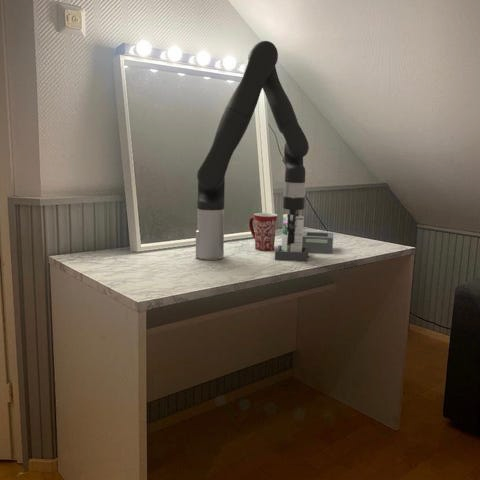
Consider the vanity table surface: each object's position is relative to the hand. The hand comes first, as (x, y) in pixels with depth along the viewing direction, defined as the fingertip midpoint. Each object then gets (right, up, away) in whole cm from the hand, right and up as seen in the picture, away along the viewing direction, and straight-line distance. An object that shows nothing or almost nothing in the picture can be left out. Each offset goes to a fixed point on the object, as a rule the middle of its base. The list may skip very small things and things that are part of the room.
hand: (292, 241), depth 175 cm
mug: (-10, -3, +16) cm, 19 cm away
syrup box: (0, -5, +1) cm, 5 cm away
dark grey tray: (0, -6, +1) cm, 6 cm away
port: (+11, -3, +15) cm, 19 cm away
